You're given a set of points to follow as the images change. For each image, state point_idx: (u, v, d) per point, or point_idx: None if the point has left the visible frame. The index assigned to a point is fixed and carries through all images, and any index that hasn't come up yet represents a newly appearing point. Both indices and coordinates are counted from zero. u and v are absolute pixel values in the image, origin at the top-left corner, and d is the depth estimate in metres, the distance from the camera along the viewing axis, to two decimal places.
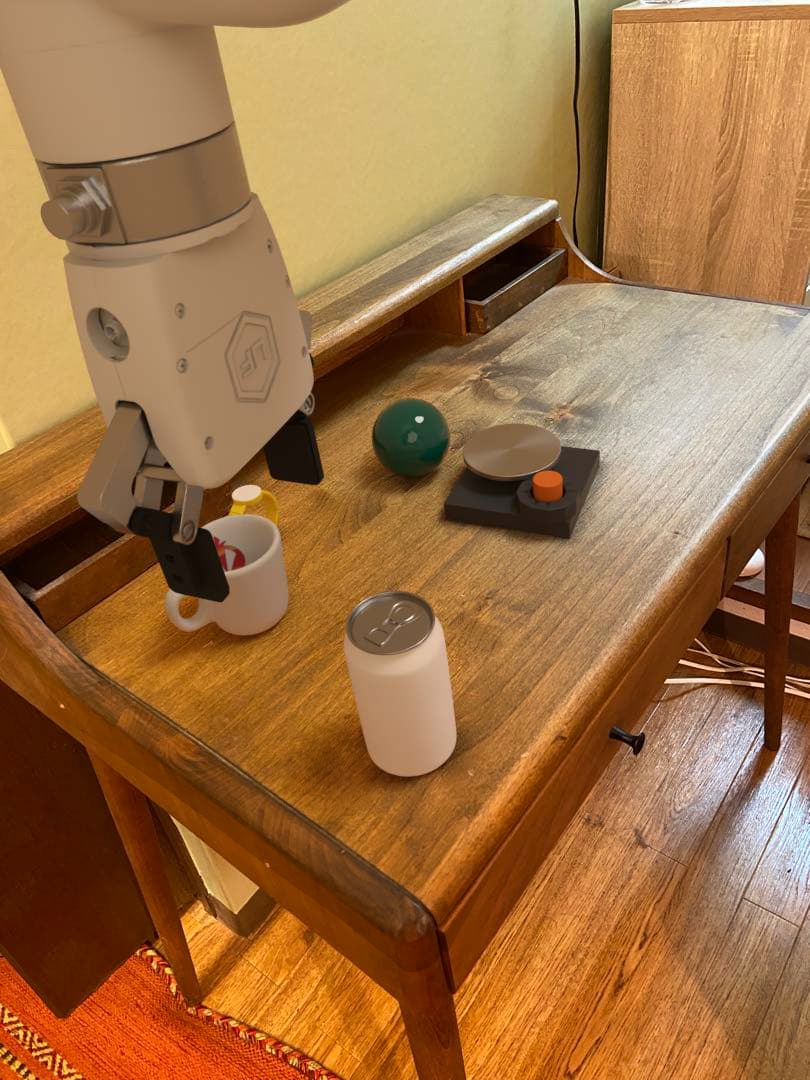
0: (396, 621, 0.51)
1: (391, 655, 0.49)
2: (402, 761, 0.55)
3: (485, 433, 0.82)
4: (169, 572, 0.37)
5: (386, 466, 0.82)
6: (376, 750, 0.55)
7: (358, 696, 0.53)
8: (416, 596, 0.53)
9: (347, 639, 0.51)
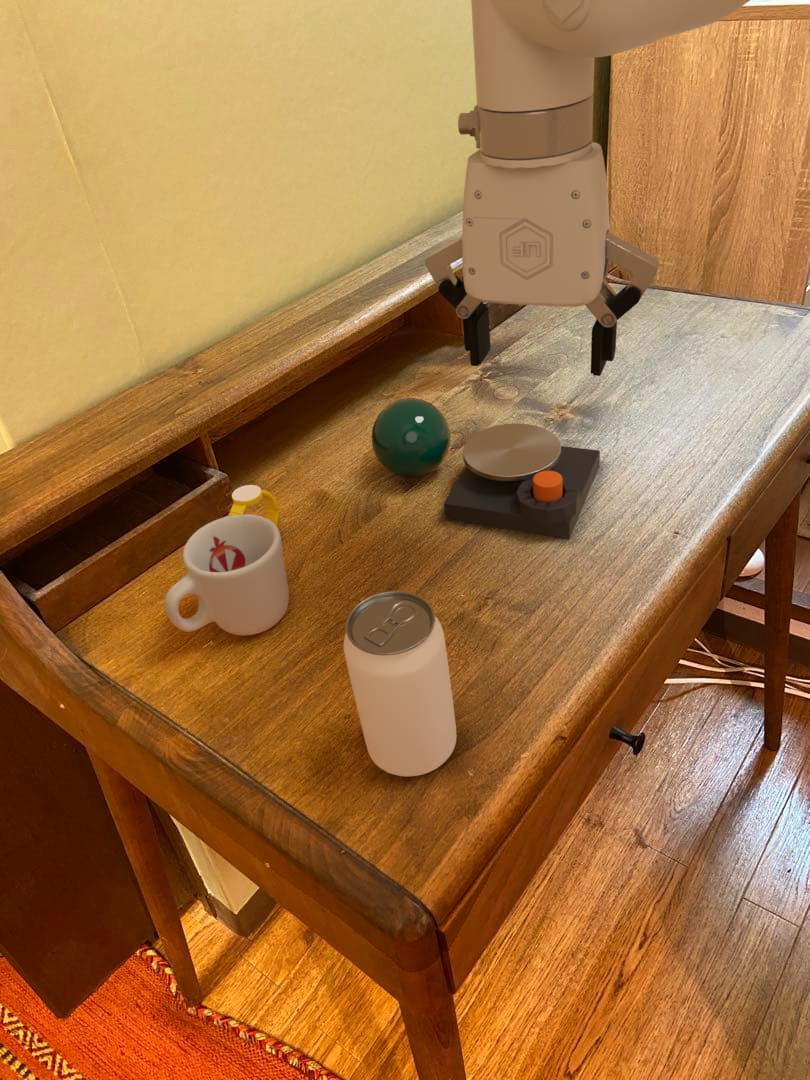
0: (396, 621, 0.51)
1: (391, 655, 0.49)
2: (402, 761, 0.55)
3: (485, 433, 0.82)
4: None
5: (386, 466, 0.82)
6: (376, 750, 0.55)
7: (358, 696, 0.53)
8: (416, 596, 0.53)
9: (347, 639, 0.51)
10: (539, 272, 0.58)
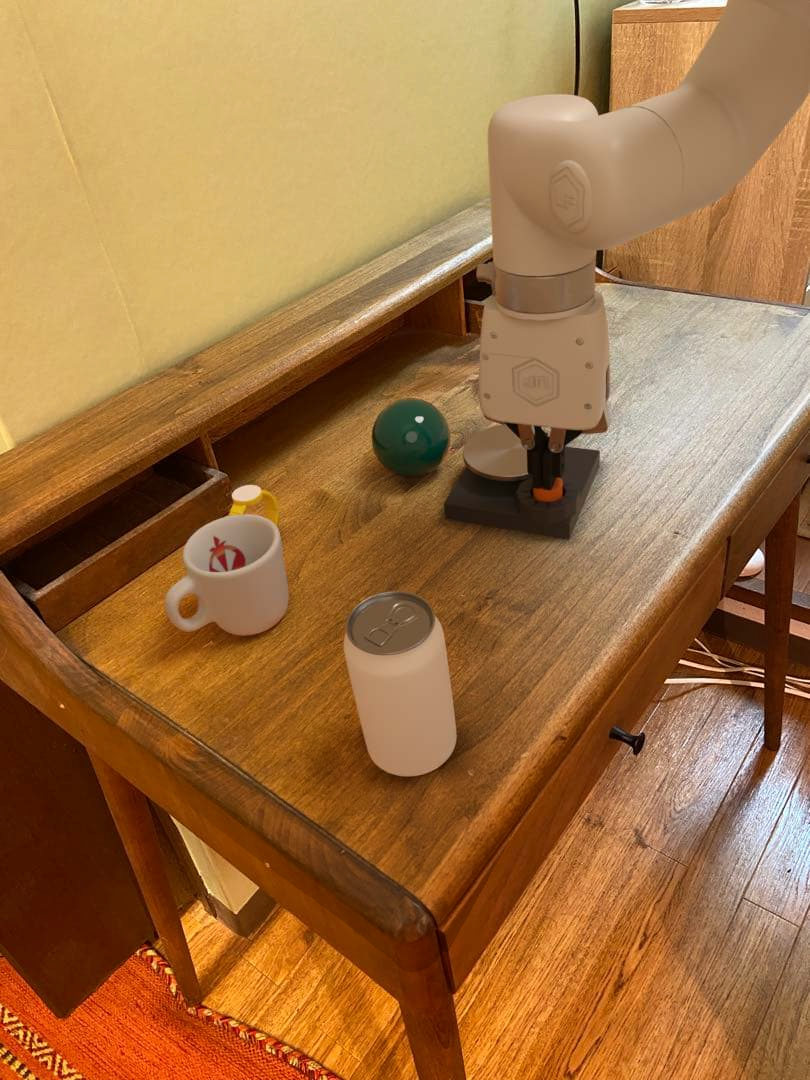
0: (396, 621, 0.51)
1: (391, 655, 0.49)
2: (402, 761, 0.55)
3: (485, 433, 0.82)
4: None
5: (386, 466, 0.82)
6: (376, 750, 0.55)
7: (358, 696, 0.53)
8: (416, 596, 0.53)
9: (347, 639, 0.51)
10: (547, 401, 0.65)
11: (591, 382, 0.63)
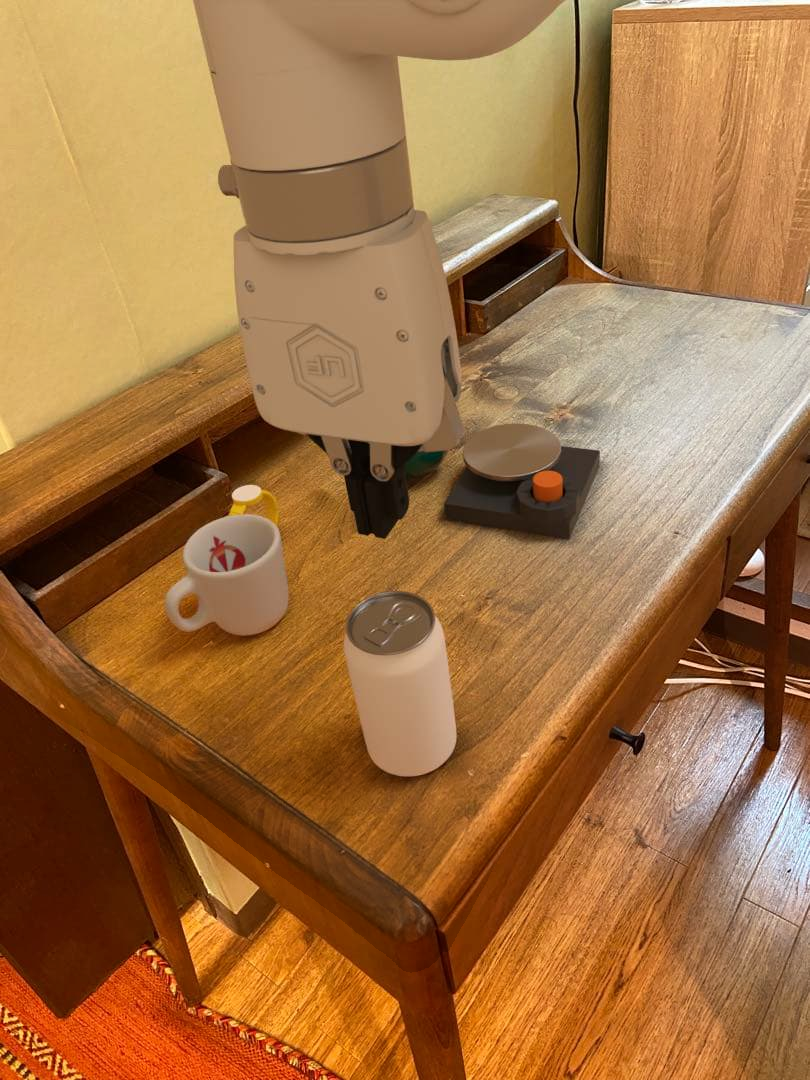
0: (396, 621, 0.51)
1: (391, 655, 0.49)
2: (402, 761, 0.55)
3: (485, 433, 0.82)
4: None
5: None
6: (376, 750, 0.55)
7: (358, 696, 0.53)
8: (416, 596, 0.53)
9: (347, 639, 0.51)
10: (348, 398, 0.39)
11: (410, 365, 0.37)
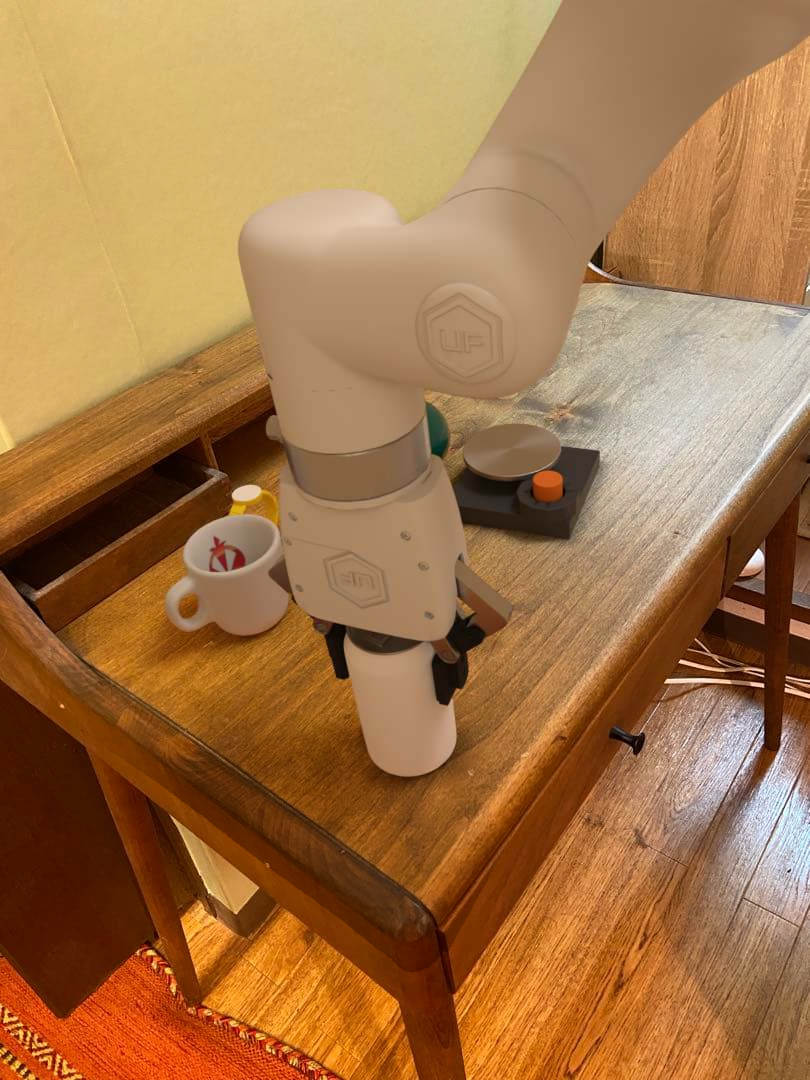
0: None
1: (391, 655, 0.49)
2: (402, 761, 0.55)
3: (485, 433, 0.82)
4: None
5: None
6: (376, 750, 0.55)
7: (358, 696, 0.53)
8: None
9: (347, 639, 0.51)
10: (375, 603, 0.46)
11: (429, 587, 0.44)
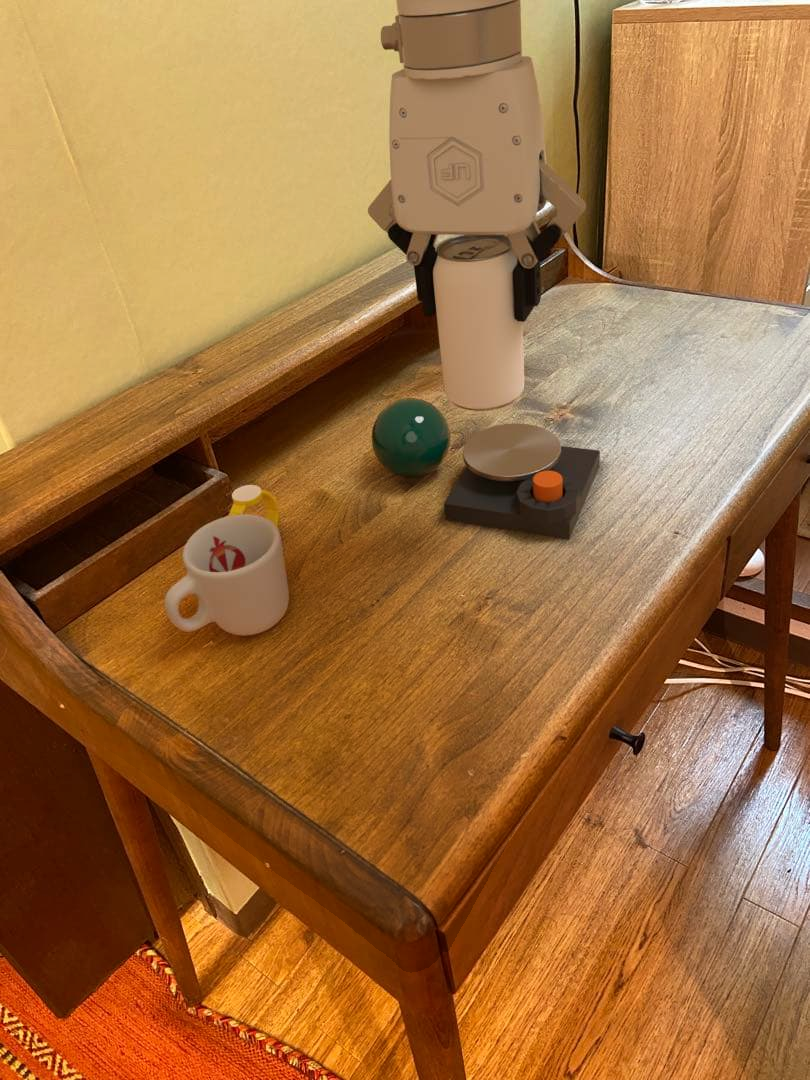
0: (479, 247, 0.60)
1: (479, 262, 0.57)
2: (481, 389, 0.63)
3: (485, 433, 0.82)
4: None
5: (386, 466, 0.82)
6: (457, 382, 0.63)
7: (445, 320, 0.61)
8: None
9: (437, 263, 0.60)
10: (470, 197, 0.55)
11: (520, 164, 0.52)
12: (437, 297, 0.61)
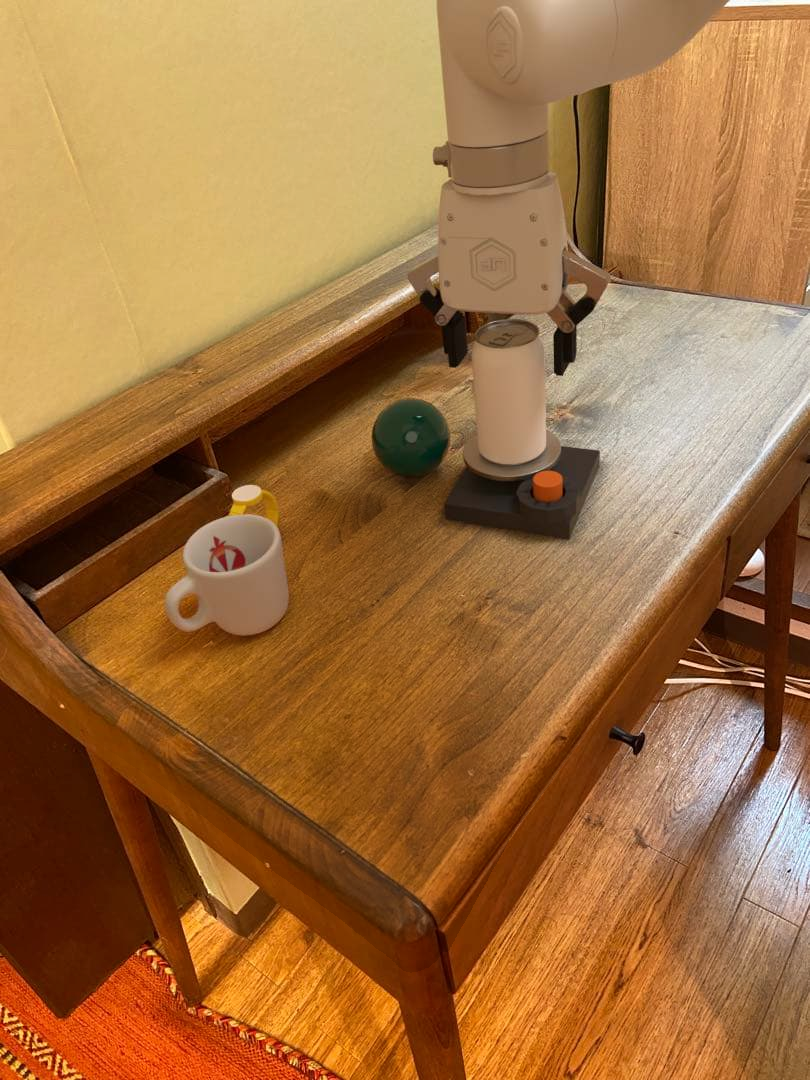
0: (511, 334, 0.72)
1: (511, 348, 0.70)
2: (509, 448, 0.75)
3: None
4: None
5: (386, 466, 0.82)
6: (490, 442, 0.76)
7: (481, 392, 0.73)
8: (523, 321, 0.73)
9: (476, 346, 0.72)
10: (505, 284, 0.66)
11: (546, 261, 0.64)
12: (475, 374, 0.73)
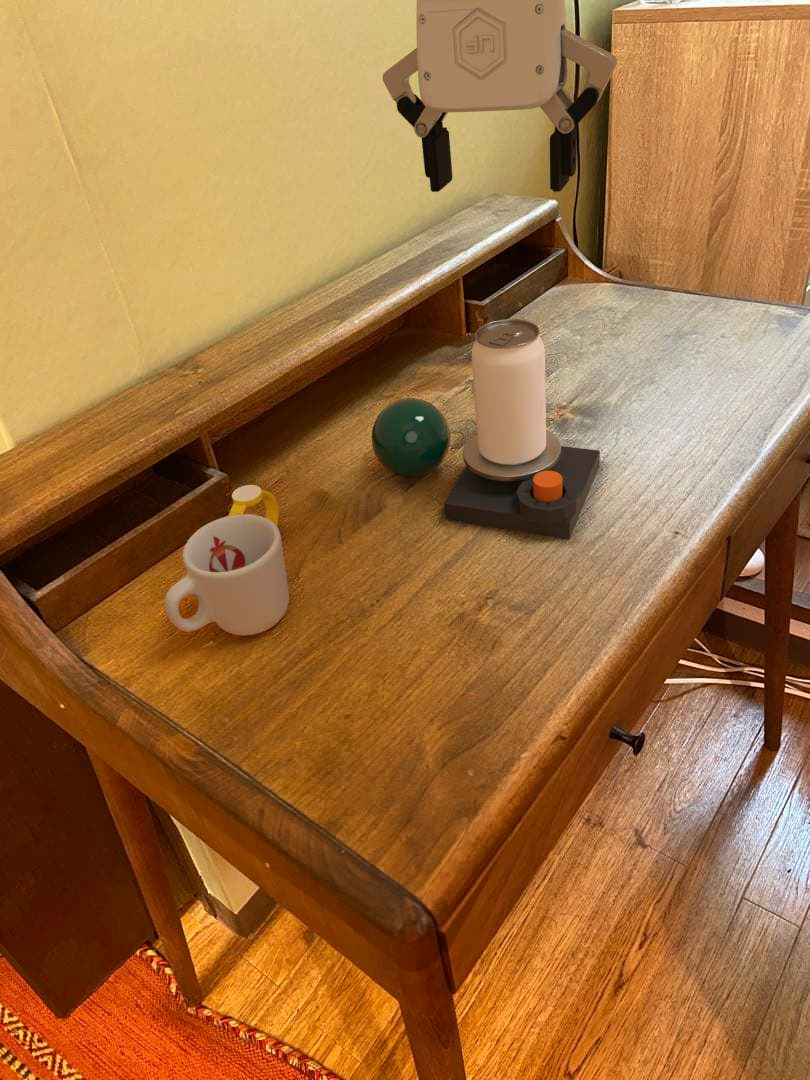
0: (511, 334, 0.72)
1: (511, 348, 0.70)
2: (509, 448, 0.75)
3: None
4: None
5: (386, 466, 0.82)
6: (490, 442, 0.76)
7: (481, 392, 0.73)
8: (523, 321, 0.73)
9: (476, 346, 0.72)
10: (494, 70, 0.57)
11: (542, 33, 0.54)
12: (475, 374, 0.73)
